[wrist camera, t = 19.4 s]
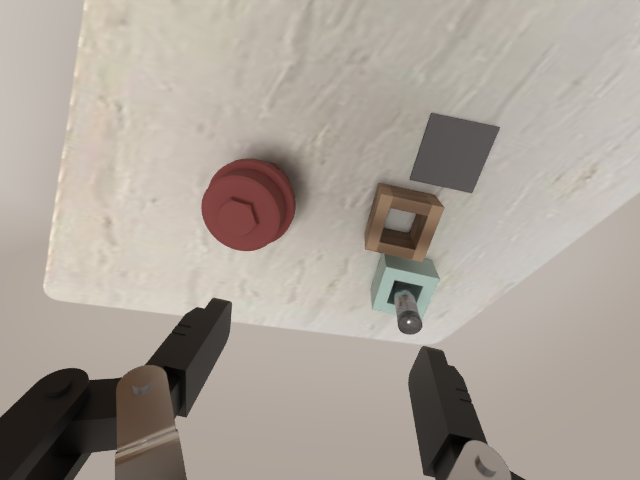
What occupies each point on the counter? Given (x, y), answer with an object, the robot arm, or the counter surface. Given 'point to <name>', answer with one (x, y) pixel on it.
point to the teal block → (405, 271)
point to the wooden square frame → (401, 242)
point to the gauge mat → (453, 152)
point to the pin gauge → (406, 308)
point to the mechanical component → (248, 204)
